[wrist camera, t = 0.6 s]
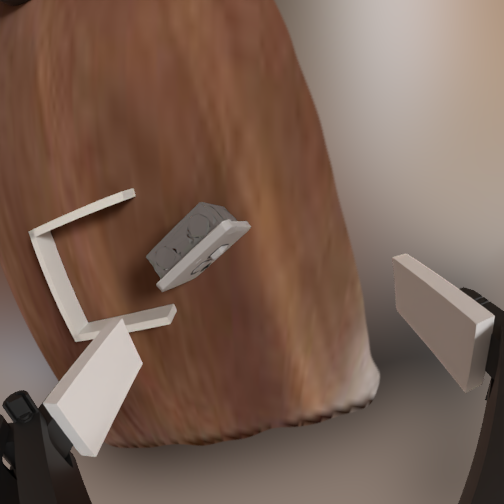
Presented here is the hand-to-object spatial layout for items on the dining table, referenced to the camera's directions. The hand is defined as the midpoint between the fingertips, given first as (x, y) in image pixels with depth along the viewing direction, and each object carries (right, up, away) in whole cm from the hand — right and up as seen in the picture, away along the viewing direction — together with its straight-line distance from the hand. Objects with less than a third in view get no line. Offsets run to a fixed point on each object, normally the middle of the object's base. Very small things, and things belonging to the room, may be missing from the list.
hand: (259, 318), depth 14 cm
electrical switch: (-6, +5, +22) cm, 23 cm away
